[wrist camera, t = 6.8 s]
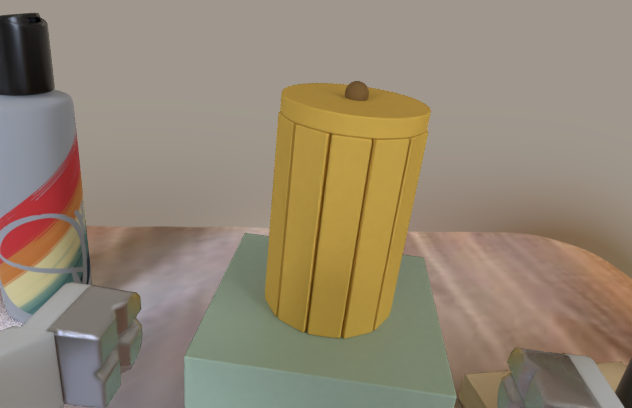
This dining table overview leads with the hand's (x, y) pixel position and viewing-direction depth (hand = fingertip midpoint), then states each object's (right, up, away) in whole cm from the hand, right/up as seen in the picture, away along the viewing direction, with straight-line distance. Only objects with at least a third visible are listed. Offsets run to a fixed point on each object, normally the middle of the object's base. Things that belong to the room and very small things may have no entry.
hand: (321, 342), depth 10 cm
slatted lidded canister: (+1, -1, +15) cm, 15 cm away
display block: (0, -10, +17) cm, 20 cm away
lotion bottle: (-20, -4, +25) cm, 32 cm away
